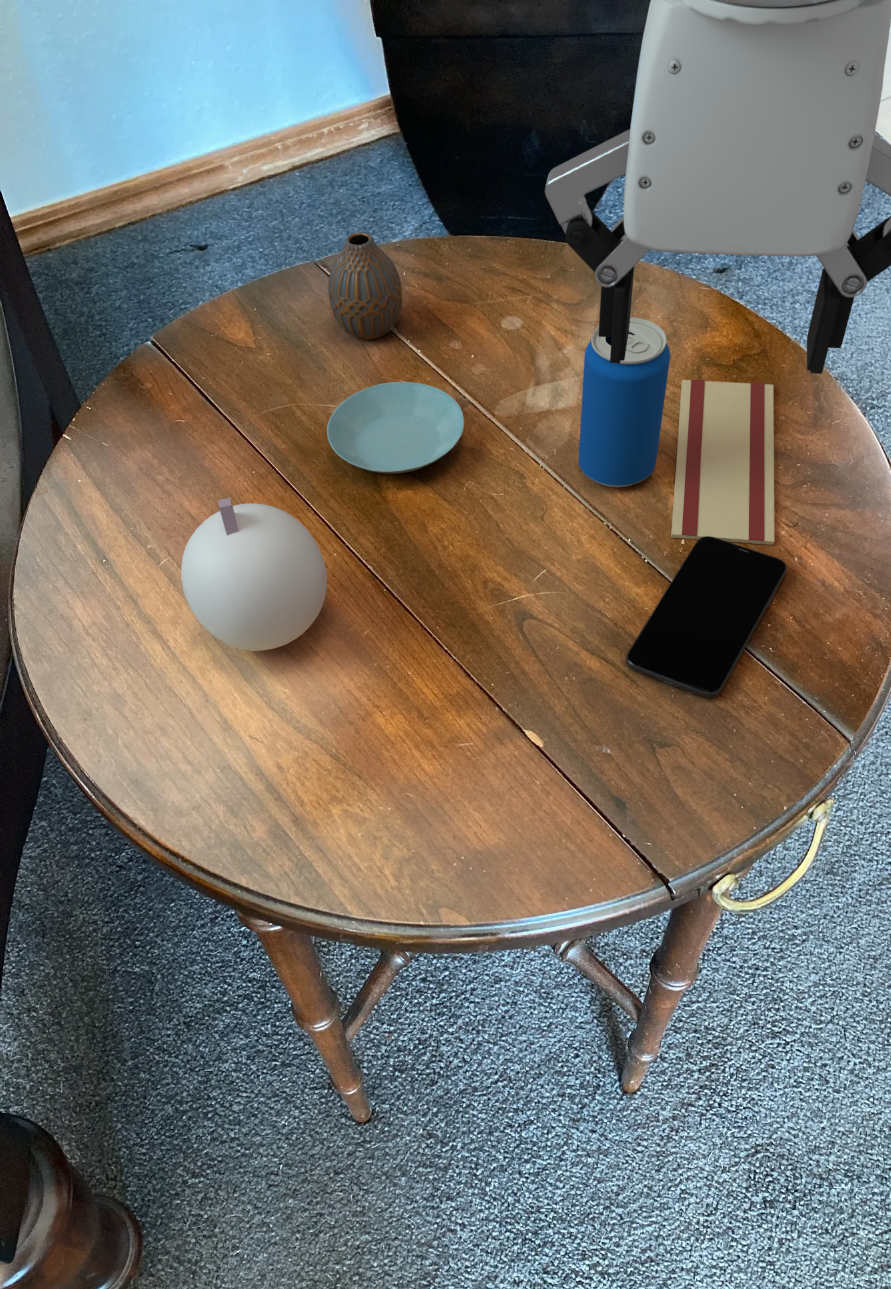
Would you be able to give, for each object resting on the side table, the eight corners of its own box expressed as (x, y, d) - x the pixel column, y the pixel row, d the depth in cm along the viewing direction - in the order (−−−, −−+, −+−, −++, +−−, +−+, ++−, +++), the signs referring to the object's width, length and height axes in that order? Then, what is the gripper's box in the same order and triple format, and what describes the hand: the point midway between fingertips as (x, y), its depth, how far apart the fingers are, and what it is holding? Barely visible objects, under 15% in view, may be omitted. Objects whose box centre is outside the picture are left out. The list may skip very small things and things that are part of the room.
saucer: (414, 509, 89) (412, 487, 87) (303, 461, 93) (298, 440, 92) (490, 429, 95) (490, 407, 93) (382, 388, 99) (379, 366, 97)
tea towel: (772, 388, 96) (773, 383, 95) (773, 545, 85) (774, 540, 84) (681, 383, 97) (682, 378, 96) (670, 537, 86) (671, 533, 86)
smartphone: (715, 705, 76) (790, 569, 83) (717, 697, 76) (792, 561, 82) (619, 668, 79) (700, 538, 85) (620, 660, 78) (701, 531, 85)
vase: (409, 307, 106) (401, 218, 98) (400, 349, 102) (391, 260, 95) (339, 306, 106) (327, 218, 99) (328, 348, 102) (314, 259, 95)
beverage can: (612, 432, 93) (623, 303, 84) (670, 465, 91) (690, 336, 81) (562, 469, 91) (567, 341, 81) (620, 504, 88) (634, 376, 78)
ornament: (177, 620, 84) (132, 499, 74) (288, 559, 87) (259, 435, 77) (246, 699, 79) (207, 581, 69) (360, 632, 82) (339, 510, 72)
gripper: (1015, -101, 41) (891, 317, 55) (561, -95, 44) (553, 302, 58) (1038, -22, 37) (898, 408, 51) (535, -20, 39) (534, 388, 54)
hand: (715, 352), depth 54 cm, fingers open, 9 cm apart
